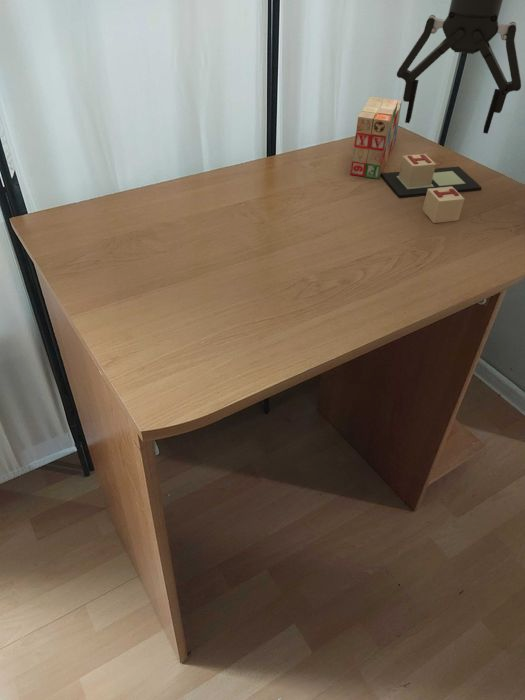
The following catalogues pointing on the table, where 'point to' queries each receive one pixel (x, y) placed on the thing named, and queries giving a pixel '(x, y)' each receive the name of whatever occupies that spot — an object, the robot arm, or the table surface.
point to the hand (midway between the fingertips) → (446, 125)
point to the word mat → (433, 182)
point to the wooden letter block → (443, 204)
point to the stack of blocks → (375, 136)
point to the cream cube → (417, 170)
